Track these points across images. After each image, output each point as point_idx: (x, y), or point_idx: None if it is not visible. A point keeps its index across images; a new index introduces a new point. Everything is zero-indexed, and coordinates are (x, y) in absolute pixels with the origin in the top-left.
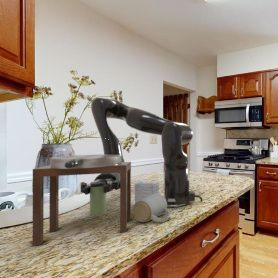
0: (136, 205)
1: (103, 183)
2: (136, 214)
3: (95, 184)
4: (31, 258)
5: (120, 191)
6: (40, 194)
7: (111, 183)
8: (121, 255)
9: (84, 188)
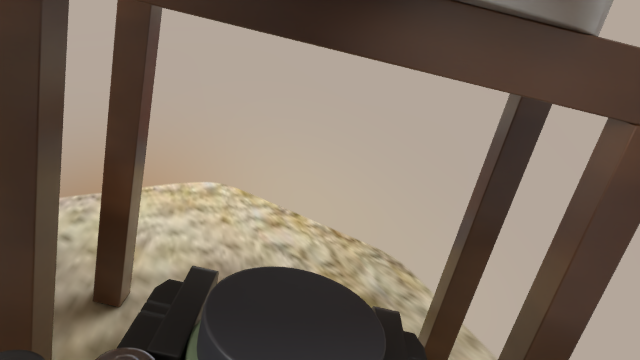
0: None
1: (229, 280)
2: None
3: (313, 277)
4: (382, 286)
5: (150, 98)
6: (486, 159)
7: (107, 353)
8: (166, 196)
9: (417, 352)
